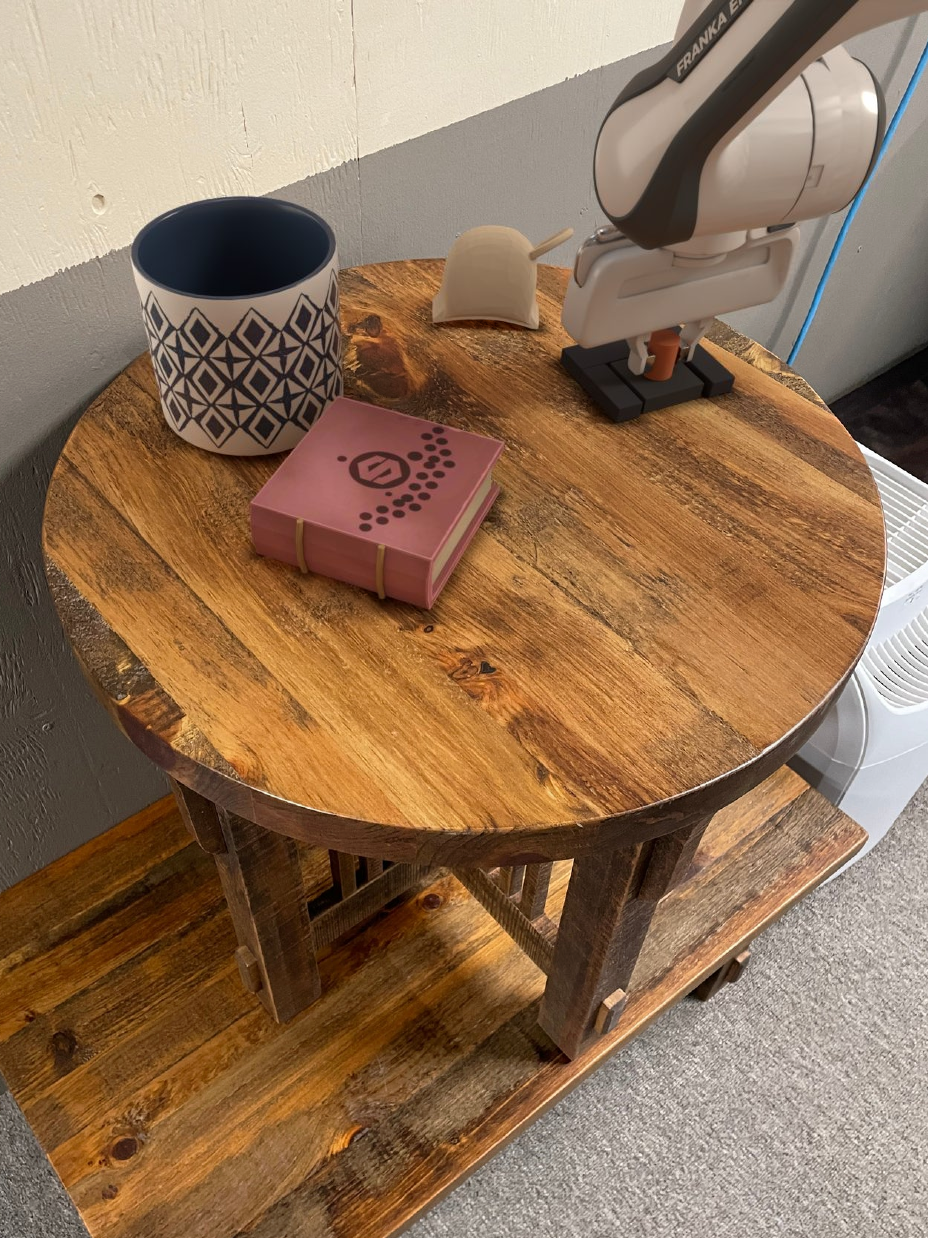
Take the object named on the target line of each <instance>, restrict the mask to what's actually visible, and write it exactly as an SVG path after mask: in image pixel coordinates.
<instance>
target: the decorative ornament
mask: <svg viewBox="0 0 928 1238" xmlns="http://www.w3.org/2000/svg"><path fill="white" fill-rule="evenodd" d="M574 233H575V231H574V228H573V227H567V228H565V229H562V230H560V231H558V232H556V233H554V234H552V235H550V236H548V237H546V238H545V239H544V240H542V241H540V242H538V243H537V244H535V245H533V244H532V243H531V242H530V240H529V239H528V238H527V237H526V236H525V235H524V234H523V233H521V232H519V230H517V229H515V228H512V227H509V226H504V225H495V224H494V225H493V224H487V225H479V226H475V227H473V228H470V229H468V230H465V232H464V233H462V234H461V235H460V236H459V237H458V238H457V239H456V240H455V241H454V243H453V245H452V246H451V248H450V250H449V252H448V253H447V257H446V259H445V263H444V267H443V273H442V277H441V280H440V281H441V282H440V286H439V290H438V292H437V293H436V294H435V295H434V296H433V298H432V302H431V303H432V304H431V305H432V309H431V310H432V313H431V314H432V322H433V323H442V322H451V321H461V320H489V321H502V322H506V323H511V324H515V325H519V326H523V327H525V328H528V329H531V330H539V325H540V307H539V305H538V303H537V282H538V281H537V280H538V264H537V263H538V261H537V259H538V258H539V257H541V256H543V255H545V254H547V253H549V252H550V251H552V250H553V249H555V248H556V247H558V246H560V245H562V244H563V243H565V242H567V241H568V240H570V239H571V238H572V237H573V236H574Z"/></svg>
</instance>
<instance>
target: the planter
mask: <svg viewBox="0 0 928 1238" xmlns="http://www.w3.org/2000/svg"><path fill="white" fill-rule="evenodd" d="M130 263H131V267H132V272H133V277H134V282H135V287H136V293H137V296H138V301H139V306H140V311H141V315H142V320H143V325H144V330H145V334H146V340H147V344H148V348H149V353H150V359H151V362H152V367H153V371H154V377H155V380H156V385H157V391H158V395H159V400H160V403H161V408H162V411H163V416H164V419H165V420H166V422H167V424H168V426H169V427H170V428H171V429H172V431H174V433H175V434H176V435H178V436H179V437H181V439H183V440H184V441H185V442H188V443H189V444H191V445H193V446H195V447H198V448H199V449H203V450H206V451H208V452H212V453H217V454H222V455H228V456H229V455H230V456H236V457H237V456H238V457H239V456H241V457H247V456H248V457H252V456H253V457H254V456H265V455H271V454H276V453H277V454H278V453H282V452H285V451H289V450H291V449H295V447H296V446H297V445H298V444H299V443H300V441H301V440H302V439H303V438H304V436H305V435H306V434H307V433H308V432H309V430H310V429H311V428H312V427H313V425H314V424H315V423H316V422H317V421H318V419H319V418H320V417H321V416H322V414H323V413H324V412H325V411H326V410H327V408H328V407H329V406H330V405H331V403H332V402H333V401H334V400H335V399H336V397H337V396H341V397H344V370H343V369H344V368H343V344H342V326H341V325H342V321H341V300H340V278H339V277H340V275H339V256H338V243H337V238H336V234H335V232H334V231H333V229H332V227H331V226H330V224H329V223H328V222H327V221H326V220H325V219H324V218H322V216H320V215H319V214H317V212H314V211H312V210H311V209H309V208H306V207H305V206H302V205H299V204H296V203H294V202H290V201H286V200H283V199H277V198H271V197H266V196H254V195H253V196H252V195H247V196H246V195H235V196H233V195H232V196H219V197H213V198H207V199H202V200H197V201H193V202H190V203H186V204H184V205H180V206H178V207H175V208H173V209H170V210H167V211H166V212H164V213H162V214H160V215H158V216H157V217H155V218H154V219H152V220H151V221H149V222H148V223H146V224H145V226H144V227H143V228H141V229H140V231H139V232H138V233H137V234H136V236H135V238H134V239H133V241H132V244H131V247H130Z"/></svg>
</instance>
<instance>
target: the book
mask: <svg viewBox="0 0 928 1238" xmlns="http://www.w3.org/2000/svg"><path fill="white" fill-rule="evenodd" d="M505 443H506V441H502V440H499V439H495V438H491V437H488V436H485V435H481V434H477V433H474V432H471V431H467V430H464V429H460V428H456V427H452V426H449V425H446V424H441V423H438V422H434V421H431V420H428V419H423V418H420V417H416V416H412V415H409V414H405V413H402V412H398V411H395V410H391V409H388V408H383V407H380V406H377V405H373V404H370V403H366V402H362V401H359V400H355V399H352V398H348V397H344V396H343V397H341V396H337V397H336V399H335V400H334V401H333V402H332V403H331V405H330V406H329V407H328V408H327V410H326V411H325V412H324V413H323V414H322V416H321V417H320V418H319V419H318V421H317V422H316V423H315V424H314V425H313V427H312V428H311V429H310V430H309V432H308V433H307V434H306V435H305V436H304V438H303V439H302V440H301V441H300V443H299V444H298V445H297V446H296V447H295V448H293V450H292V451H291V452H290V454H288V455H287V457H286V458H285V459H284V461H283V462H282V463H281V464H280V465H279V467H278V468H277V469H276V471H274V473H273V474H272V475H271V477H270V478H269V479H268V480H267V481H266V483H265V484H264V485H263V487H262V488H261V489H260V491H258V492H257V494H256V495H255V496H254V497H253V499H252V500H251V501H250V502H249V528H250V534H251V541H252V543H253V546H254V549H255V551H256V553H257V555H260V556H264V557H267V558H271V559H272V560H276V561H279V562H283V563H285V564H288V565H292V566H294V567H297V568H300V571H301V574H307V573H309V571H310V572H313V573H316V574H318V575H322V576H325V577H328V578H330V579H334V580H337V581H340V582H343V583H346V584H349V585H352V586H355V587H358V588H361V589H364V590H367V591H370V592H373V593H377V594H378V598H379V599H380V600H384V599H386V597H389V598H392V599H395V600H398V601H401V602H404V603H407V604H410V605H413V606H417V607H419V608H422V609H425V610H429V611H430V610H431V608H432V607H433V605H434V604H435V602H436V600H437V599H438V596H439V595H440V593H441V592H442V591H443V589H444V586H445V585H446V583H447V582H448V580H449V578H450V577H451V575H452V573H453V571H454V570H455V568H456V566H457V564H458V563H459V562H460V560H461V558H462V556H463V554H464V552H465V551H466V549H467V548H468V546H469V544H470V542H471V541H472V540H473V538H474V536H475V534H476V533H477V531H478V530H479V528H480V526H481V524H482V522H483V521H484V519H485V517H486V516H487V514H488V513H489V511H490V509H491V508H492V505H493V504H494V503H495V501H496V499H497V497H498V495H499V494H500V487H501V486H500V485H498V484H495V483H492V474H493V468H494V466H495V464H496V463H497V462H498V460H499V458H500V457H501V455H502V453H503V452H504V450H505Z"/></svg>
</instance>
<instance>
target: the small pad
mask: <svg viewBox="0 0 928 1238" xmlns="http://www.w3.org/2000/svg"><path fill="white" fill-rule="evenodd" d="M679 344H680V336H679V335H678V334H677V333H676V332H674V331H671V330H667V329H663V330H659V331H655V332H652V334H651V338H650V341H649V343H648V348H649V351H652V352H653V353H654V354H655V355H656V358H655V362H654V363H653V370H652V371H650V372H647V373H643V374H639V375H635V374H634V373H633V372H632V371H631V370H630V369H629V366H628V360H629V358H627V359H623V360H620V361H616V362H612V363H610V367H609V368H610V369H611V370H612V371H613V372H614V374H615V375H616V376H617V377H618V378H619V379H620V380H621V381H622V382H623V383H624V384H625V385H626V386H627V387H628V388H629V389H630V390H631V391H632V392H633V393H634V394H635V395H636V396H637V397H638V398H639V399H640V400H641V401H642V403H643V404H642V408H641V412H640V413H641V414H647V413H651V412H653V411H657V410H661V409H662V410H663V409H666V408H669V407H672V406H675V405H678V404H682V403H686V402H690V401H693V400H697V399H700V398H701V396H702V393H703V391H702V389H703V386H704V383H703V382H702V381H701V380H700V379H699V378H698V377H697V376H696V375H695V374H694V373H692V372H691V371H690V370H689V369H688V368H687V367H686V366H685V365H684V364H683V363H680V364H676V365H675V364H674V363H675V360H676V356H677V352H678V348H679Z"/></svg>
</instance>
